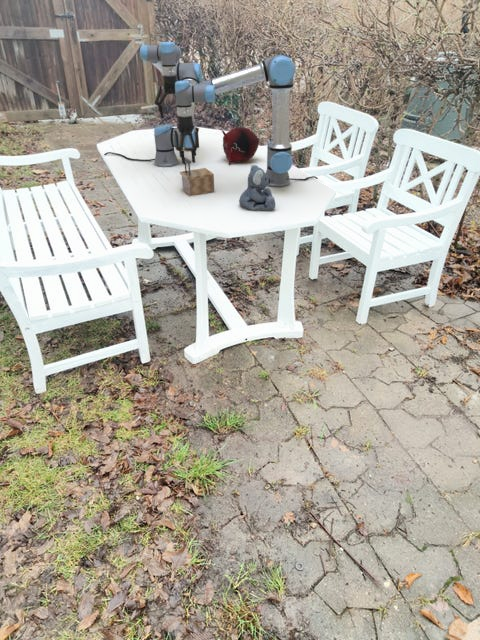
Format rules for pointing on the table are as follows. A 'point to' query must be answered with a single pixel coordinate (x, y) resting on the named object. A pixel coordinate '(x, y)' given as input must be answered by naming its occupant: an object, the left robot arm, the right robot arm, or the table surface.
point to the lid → (195, 172)
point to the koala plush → (257, 191)
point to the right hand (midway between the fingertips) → (188, 162)
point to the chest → (198, 185)
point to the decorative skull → (240, 144)
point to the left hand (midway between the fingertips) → (173, 117)
